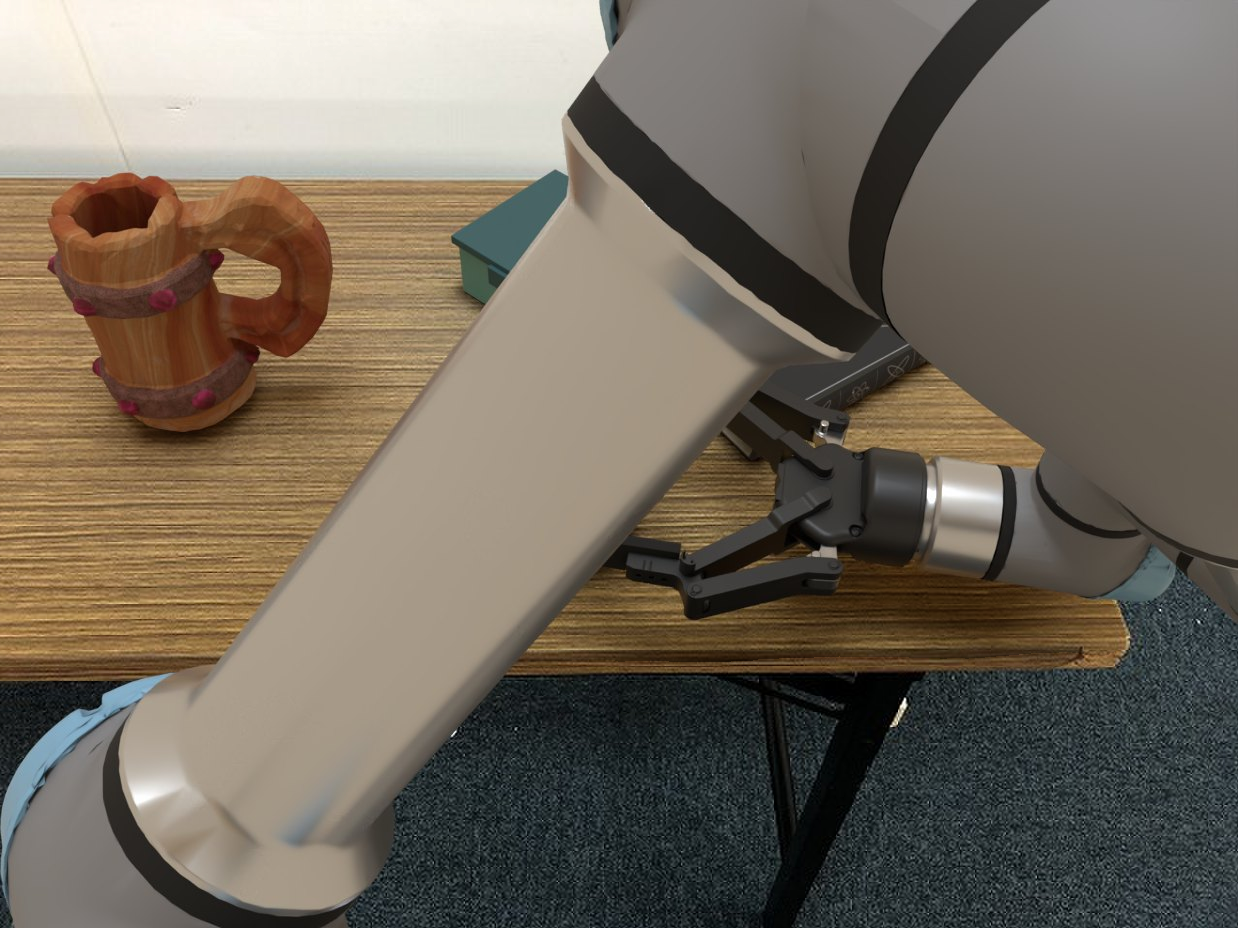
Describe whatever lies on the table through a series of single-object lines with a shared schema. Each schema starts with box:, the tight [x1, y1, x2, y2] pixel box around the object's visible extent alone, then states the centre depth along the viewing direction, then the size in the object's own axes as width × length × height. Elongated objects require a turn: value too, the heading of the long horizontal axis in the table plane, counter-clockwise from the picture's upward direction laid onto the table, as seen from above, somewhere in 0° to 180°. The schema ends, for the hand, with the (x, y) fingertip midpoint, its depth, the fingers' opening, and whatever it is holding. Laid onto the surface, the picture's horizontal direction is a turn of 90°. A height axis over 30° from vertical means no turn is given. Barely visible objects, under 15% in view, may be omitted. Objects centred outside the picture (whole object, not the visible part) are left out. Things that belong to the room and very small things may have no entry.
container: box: [450, 168, 569, 305], centre depth 94 cm, size 14×13×6 cm
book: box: [720, 322, 928, 462], centre depth 91 cm, size 22×15×3 cm
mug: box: [46, 172, 334, 433], centre depth 79 cm, size 19×11×20 cm, turn 95°
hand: (594, 463), depth 73 cm, fingers open, 13 cm apart
